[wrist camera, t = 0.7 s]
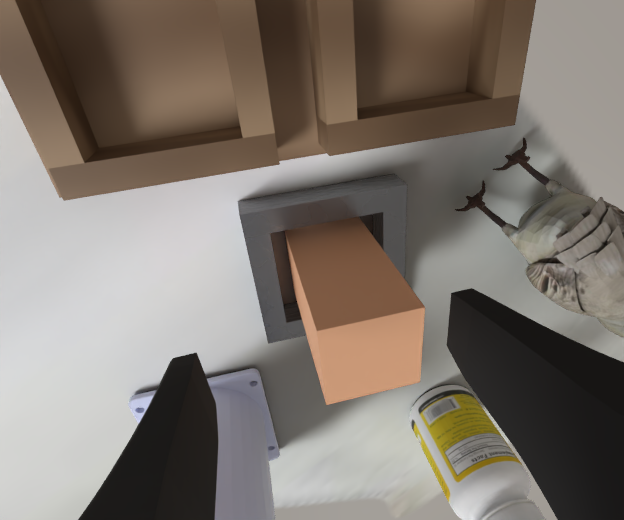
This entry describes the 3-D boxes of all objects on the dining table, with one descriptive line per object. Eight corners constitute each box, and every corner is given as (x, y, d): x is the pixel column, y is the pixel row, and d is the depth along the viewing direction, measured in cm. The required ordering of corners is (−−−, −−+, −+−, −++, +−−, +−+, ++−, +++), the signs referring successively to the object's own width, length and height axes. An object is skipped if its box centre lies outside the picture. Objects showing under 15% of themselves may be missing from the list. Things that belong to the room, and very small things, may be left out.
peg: (360, 277, 23) (419, 382, 16) (294, 290, 22) (326, 404, 16) (358, 215, 21) (425, 307, 14) (284, 229, 20) (316, 331, 14)
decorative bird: (568, 317, 29) (665, 397, 23) (435, 202, 21) (524, 274, 15) (630, 264, 27) (753, 334, 21) (510, 120, 20) (644, 162, 14)
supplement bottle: (450, 429, 33) (527, 563, 25) (396, 426, 31) (459, 570, 23) (483, 384, 31) (580, 516, 23) (426, 378, 29) (509, 519, 21)
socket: (393, 297, 24) (403, 313, 23) (265, 325, 23) (268, 343, 22) (394, 173, 20) (407, 184, 18) (238, 201, 19) (239, 214, 18)
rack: (490, 118, 19) (534, 133, 17) (69, 187, 17) (41, 217, 14) (524, -131, 15) (593, -166, 12) (-56, -83, 12) (-133, -112, 10)
